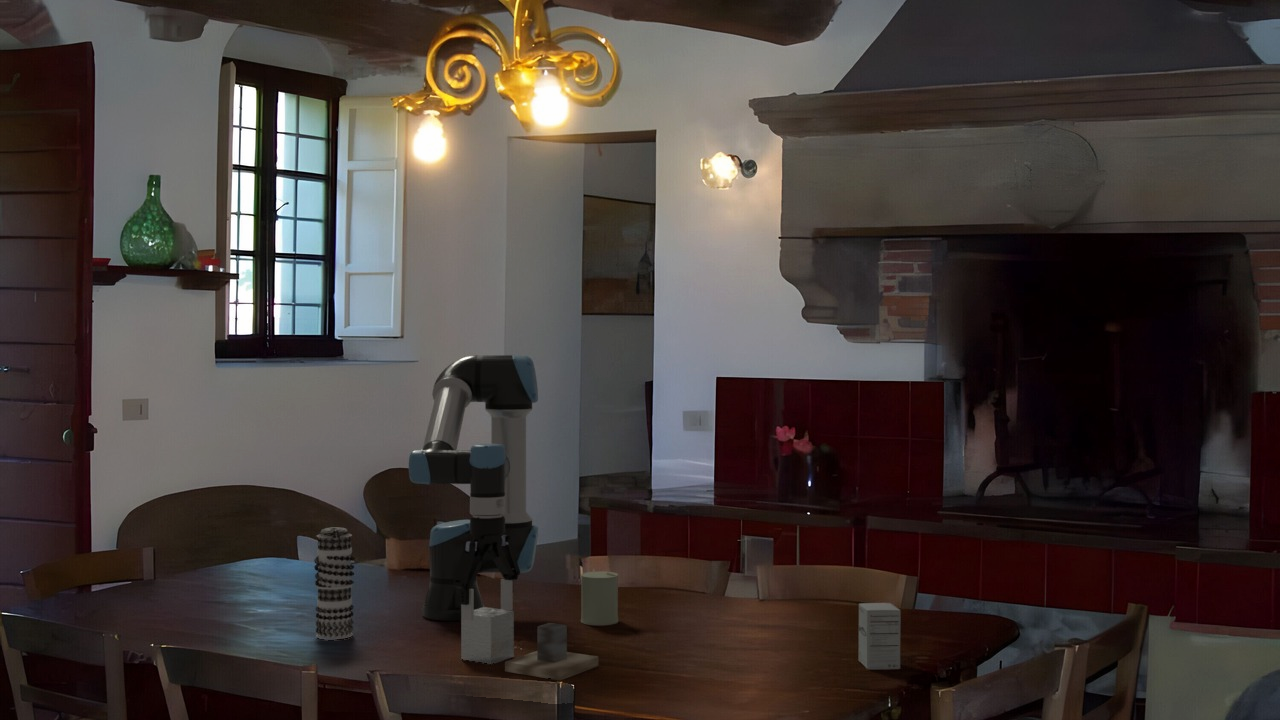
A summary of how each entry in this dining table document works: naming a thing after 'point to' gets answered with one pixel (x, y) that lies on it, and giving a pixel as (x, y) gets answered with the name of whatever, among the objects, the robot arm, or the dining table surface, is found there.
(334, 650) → the dining table surface
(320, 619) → the white and black cylinder
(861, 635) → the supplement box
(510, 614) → the grey foam block
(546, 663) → the post board
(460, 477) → the robot arm
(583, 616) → the can
